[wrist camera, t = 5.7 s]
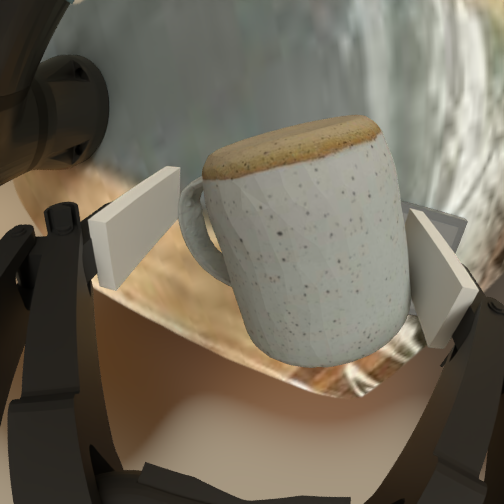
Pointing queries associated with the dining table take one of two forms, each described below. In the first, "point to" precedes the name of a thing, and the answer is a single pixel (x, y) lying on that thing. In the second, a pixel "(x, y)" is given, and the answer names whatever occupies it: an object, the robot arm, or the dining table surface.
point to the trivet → (439, 228)
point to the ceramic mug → (306, 238)
